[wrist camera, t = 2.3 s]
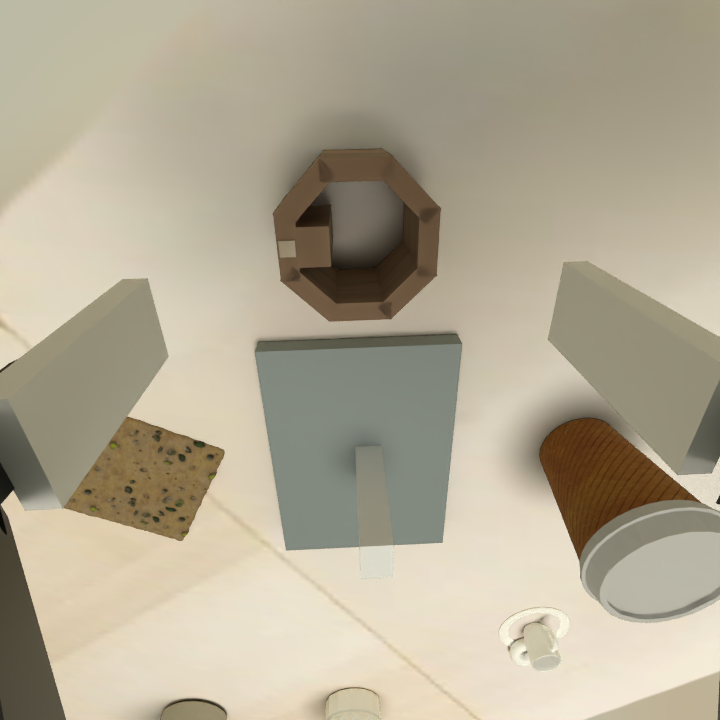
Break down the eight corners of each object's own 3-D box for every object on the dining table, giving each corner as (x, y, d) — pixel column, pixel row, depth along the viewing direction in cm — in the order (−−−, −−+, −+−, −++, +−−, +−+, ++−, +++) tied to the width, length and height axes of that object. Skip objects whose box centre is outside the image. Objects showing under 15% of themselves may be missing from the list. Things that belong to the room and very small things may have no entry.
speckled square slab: (45, 499, 38) (38, 508, 37) (72, 392, 33) (64, 399, 32) (184, 538, 41) (181, 548, 40) (228, 446, 36) (226, 454, 35)
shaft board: (457, 334, 31) (505, 425, 22) (439, 528, 41) (467, 648, 31) (258, 342, 31) (223, 437, 21) (288, 536, 40) (272, 659, 31)
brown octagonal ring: (422, 146, 25) (445, 154, 20) (417, 281, 29) (434, 319, 24) (281, 150, 25) (265, 159, 20) (295, 286, 29) (285, 324, 23)
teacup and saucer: (523, 654, 53) (537, 693, 49) (477, 633, 50) (488, 672, 46) (582, 619, 49) (601, 658, 46) (536, 594, 47) (552, 633, 43)
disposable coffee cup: (564, 385, 33) (666, 507, 23) (659, 422, 36) (793, 549, 25) (498, 472, 38) (559, 610, 27) (587, 501, 40) (676, 638, 29)
